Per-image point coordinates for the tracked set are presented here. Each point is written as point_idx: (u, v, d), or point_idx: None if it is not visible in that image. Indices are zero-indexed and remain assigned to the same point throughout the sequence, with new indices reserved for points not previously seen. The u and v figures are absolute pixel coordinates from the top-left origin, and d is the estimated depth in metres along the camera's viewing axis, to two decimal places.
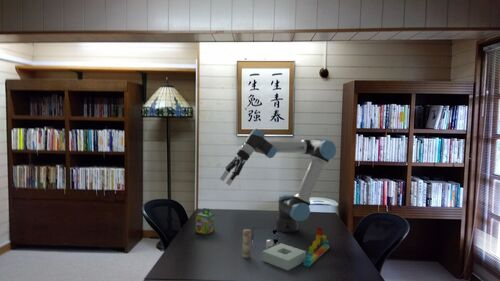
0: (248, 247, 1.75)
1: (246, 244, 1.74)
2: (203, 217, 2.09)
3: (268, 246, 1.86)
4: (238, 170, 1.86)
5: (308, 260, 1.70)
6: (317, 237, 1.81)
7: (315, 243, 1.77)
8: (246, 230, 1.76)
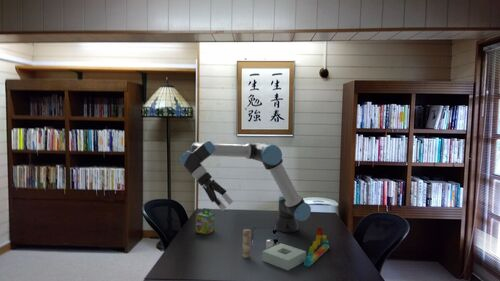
0: (248, 247, 1.75)
1: (246, 244, 1.74)
2: (203, 217, 2.09)
3: (268, 246, 1.86)
4: (210, 196, 1.69)
5: (308, 260, 1.70)
6: (317, 237, 1.81)
7: (315, 243, 1.77)
8: (246, 230, 1.76)
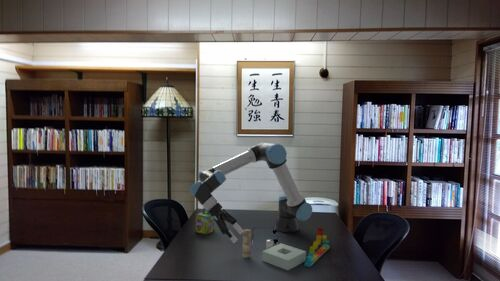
0: (248, 247, 1.75)
1: (246, 244, 1.74)
2: (203, 217, 2.09)
3: (268, 246, 1.86)
4: (221, 228, 1.68)
5: (309, 260, 1.70)
6: (318, 237, 1.80)
7: (316, 243, 1.77)
8: (246, 230, 1.76)
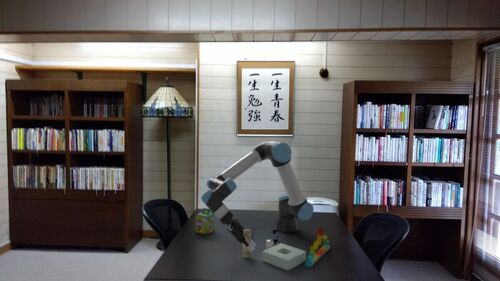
0: None
1: None
2: (203, 217, 2.09)
3: (268, 246, 1.86)
4: (238, 238, 1.71)
5: (309, 260, 1.69)
6: (318, 237, 1.80)
7: (316, 243, 1.76)
8: (246, 230, 1.76)
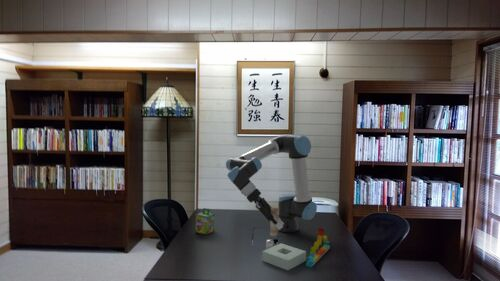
0: None
1: None
2: (203, 217, 2.09)
3: (268, 246, 1.86)
4: (267, 216, 1.67)
5: (310, 261, 1.69)
6: (318, 237, 1.80)
7: (317, 243, 1.76)
8: (274, 208, 1.71)
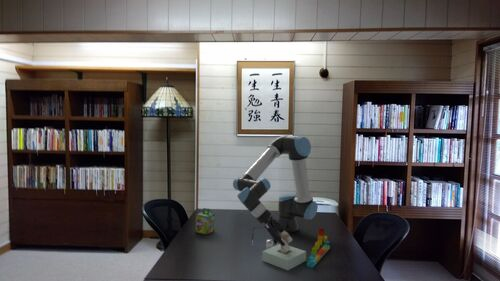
0: None
1: None
2: (203, 217, 2.09)
3: (268, 246, 1.86)
4: (274, 237, 1.64)
5: (311, 261, 1.69)
6: (319, 238, 1.80)
7: (317, 243, 1.76)
8: (284, 234, 1.72)
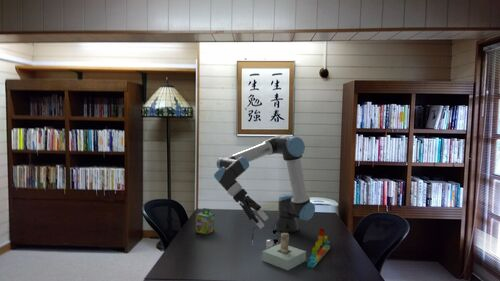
0: (286, 251, 1.71)
1: (284, 248, 1.70)
2: (203, 217, 2.09)
3: (268, 246, 1.86)
4: (248, 214, 1.66)
5: (312, 261, 1.69)
6: (319, 238, 1.80)
7: (318, 243, 1.76)
8: (284, 234, 1.72)
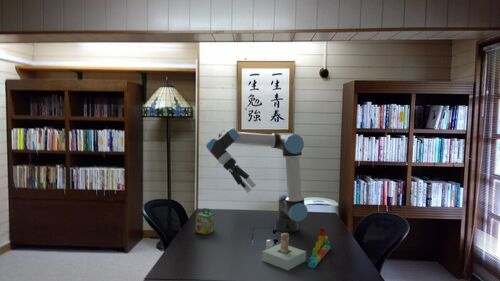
0: (286, 251, 1.71)
1: (284, 248, 1.70)
2: (203, 217, 2.09)
3: (268, 246, 1.86)
4: (236, 179, 1.84)
5: (312, 261, 1.68)
6: (320, 238, 1.79)
7: (318, 244, 1.76)
8: (284, 234, 1.72)
